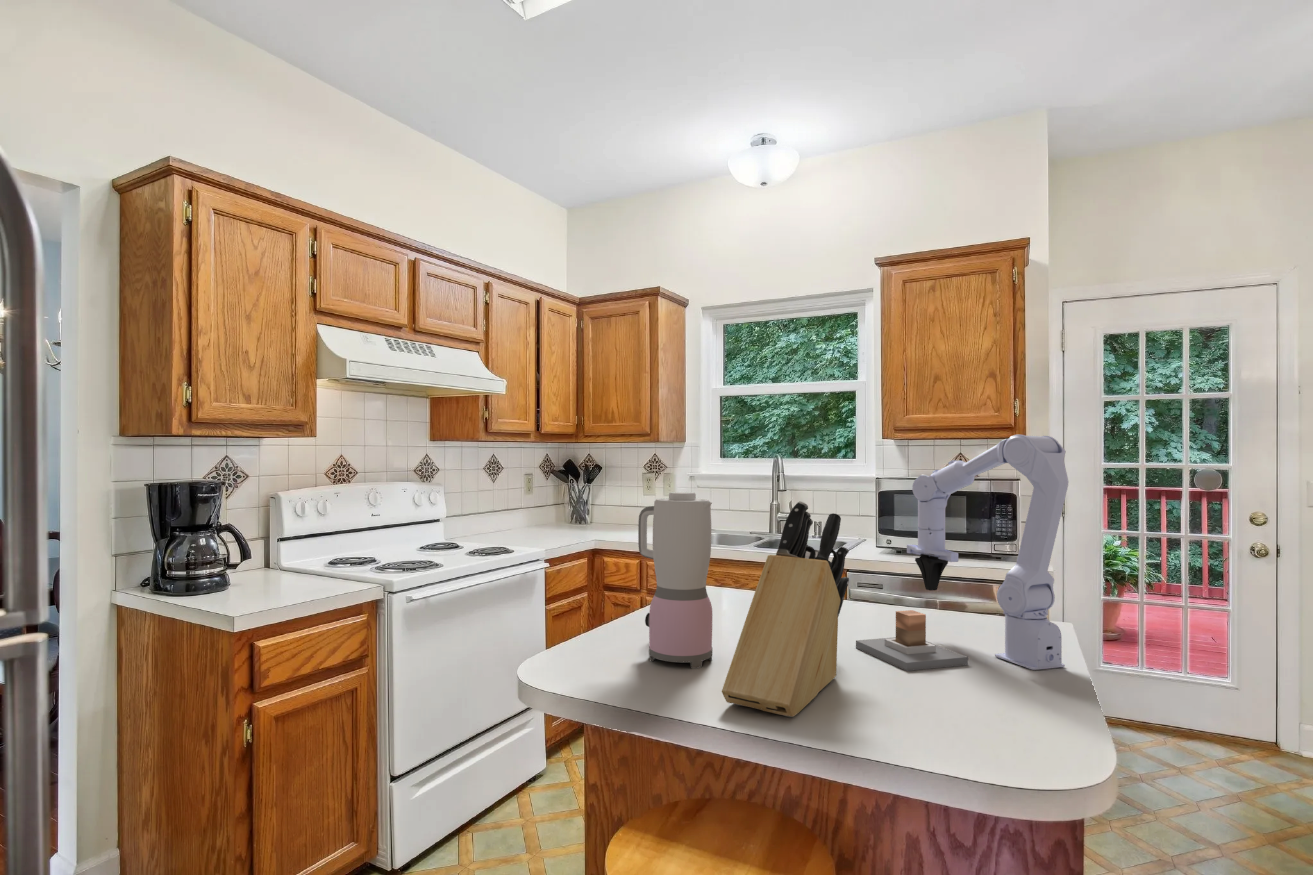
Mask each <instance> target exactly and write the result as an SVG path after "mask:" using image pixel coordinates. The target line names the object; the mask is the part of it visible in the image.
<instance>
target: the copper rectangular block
mask: <svg viewBox="0 0 1313 875" xmlns="http://www.w3.org/2000/svg"><path fill="white" fill-rule="evenodd" d="M926 616H927V615H926V614H925V613H922V612H919V611H916V610H914V609H912V610H897V611H895V637H896V642H897V643H899V644H902V645H904V646H907V647H910V646H922V645H926V641H927V639H926V635H927V625H926V624H927V623H926V622H927V619H926V618H927V617H926Z"/></svg>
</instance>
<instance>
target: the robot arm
mask: <svg viewBox="0 0 1313 875" xmlns="http://www.w3.org/2000/svg"><path fill="white" fill-rule="evenodd" d="M1065 457H1066V450H1065V448H1064V447H1063V446H1062V445H1061V444H1060V443H1059V441H1058V440H1057V439H1056V438H1055V437H1053V436H1050V435H1041V436H1040V435H1025V434H1014V435H1011V436H1010V437H1009V438H1005V439H1002V440H1000V441H999V442H998V443H997V444H996V445H994V446H992V447H991V448H989V449H986V450H985V451H984V452H981V453H980V454H978V455H976V456H975V457H973V458H971V459H970V460H968V461H963V460H957V459H952V460H949V461H948V462H947V464H948V465H947V466H944V467H942V468H940V469H934V470H933V471H931V472H932V473H931V474H930V475H927V474H920V475H919V476H918V477H916V478H915V479H914V481H913V483H912V486H911V488H912V493H913V496H914V497H915V498H916V499H917V544H906V554H914V555H918V556H919V557H915V558H914V561H915V563H916V565H917V567H918V569H919V571H920V573H921V576H922V579H923V580H922V581H923V583H924V588H925V590H926V591H932V592H933V591H938V588H939V583H940V580H941V576H942V574H943V572H944V571H945V568H946V567H947V565H948V564H949V562H950V563H958V562H959V552H955V551H952V550H948V549H946V507H947V506H948V500H949V498H950V496H952V495H951V494H954V493H956V492H957V491H960V490H962V489H964V488H966V487H968V486H971V485H972V484H973V483H974V481H975V479H976V478H975V477H976V476H978V475H981V474H983V473H986V472H988V471H990V470H993V469H996V468H997V467H999V466H1000V467H1001V466H1002V465H1004V464H1008V465H1010V466H1011V468H1014V469H1015V470H1016V471H1017V472H1019V473H1020V474H1022V475H1023V476H1024V477H1025V478H1026V479H1027V480H1028V481H1029V482H1030V484H1031V485H1032V487H1033V490H1032V494H1031V498H1030V501H1029V506H1028V511H1027V516H1026V520H1025V523H1024V528H1023V533H1022V535H1021V536H1022V537H1021V540H1020V541H1021V542H1020V545H1019V550H1018V555H1017V559H1016V563H1015V565H1013V567H1012V568H1010V570H1008V571H1007V572H1006V574H1005V578H1004V580H1003V582H1002V584H1001V585H1000V586H999V587H998V589H997V591H996V599H997V600H996V601H997V603H998V605H999V607H1000V608H1001V610H1002V612H1003V615H1004V652H1001V653H994V657H996V658H999V659H1002V660H1004V661H1007V662H1009V663H1012V664H1016V665H1018V666H1021V667H1024V668H1027V669H1029V670H1032V671H1035V670H1036V671H1038V670H1046V669H1048V670H1049V669H1056V668H1064V667H1066V666H1065V665H1066V664H1065V663H1062V657H1063V656H1062V652H1063V651H1062V648H1063V647H1062V646H1063V645H1062V632H1061V631H1062V630H1061V629H1060V627H1059V626H1058V625H1057V624H1056V623H1054V622H1052V621H1050V620H1049V619H1048V615H1049V610H1051V608H1052V607H1053V606H1054V604H1055V599H1056V596H1055V591H1054V583H1055V578H1054V577H1053V576H1052V574H1051V573H1050V572H1049V567H1050V562H1051V559H1052V556H1053V555H1052V554H1053V551H1054V545H1055V542H1056V538H1057V533H1058V530H1059V525H1060V522H1061V517H1062V513H1063V508H1064V504H1065V499H1066V496H1067V491H1068V487H1069V477H1068V472H1067V469H1066V465H1065Z"/></svg>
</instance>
